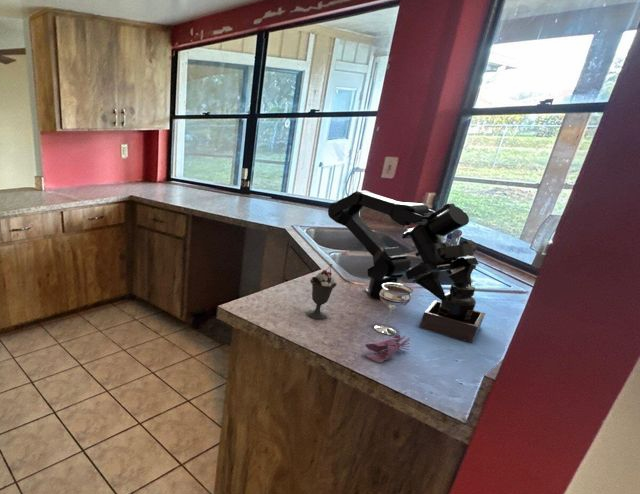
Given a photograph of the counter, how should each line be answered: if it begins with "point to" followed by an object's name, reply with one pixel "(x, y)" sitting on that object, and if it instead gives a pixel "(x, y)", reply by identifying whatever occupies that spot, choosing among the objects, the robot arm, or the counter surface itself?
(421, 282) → the robot arm
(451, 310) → the supplement bottle
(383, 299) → the wineglass
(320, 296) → the sundae
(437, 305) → the caddy
